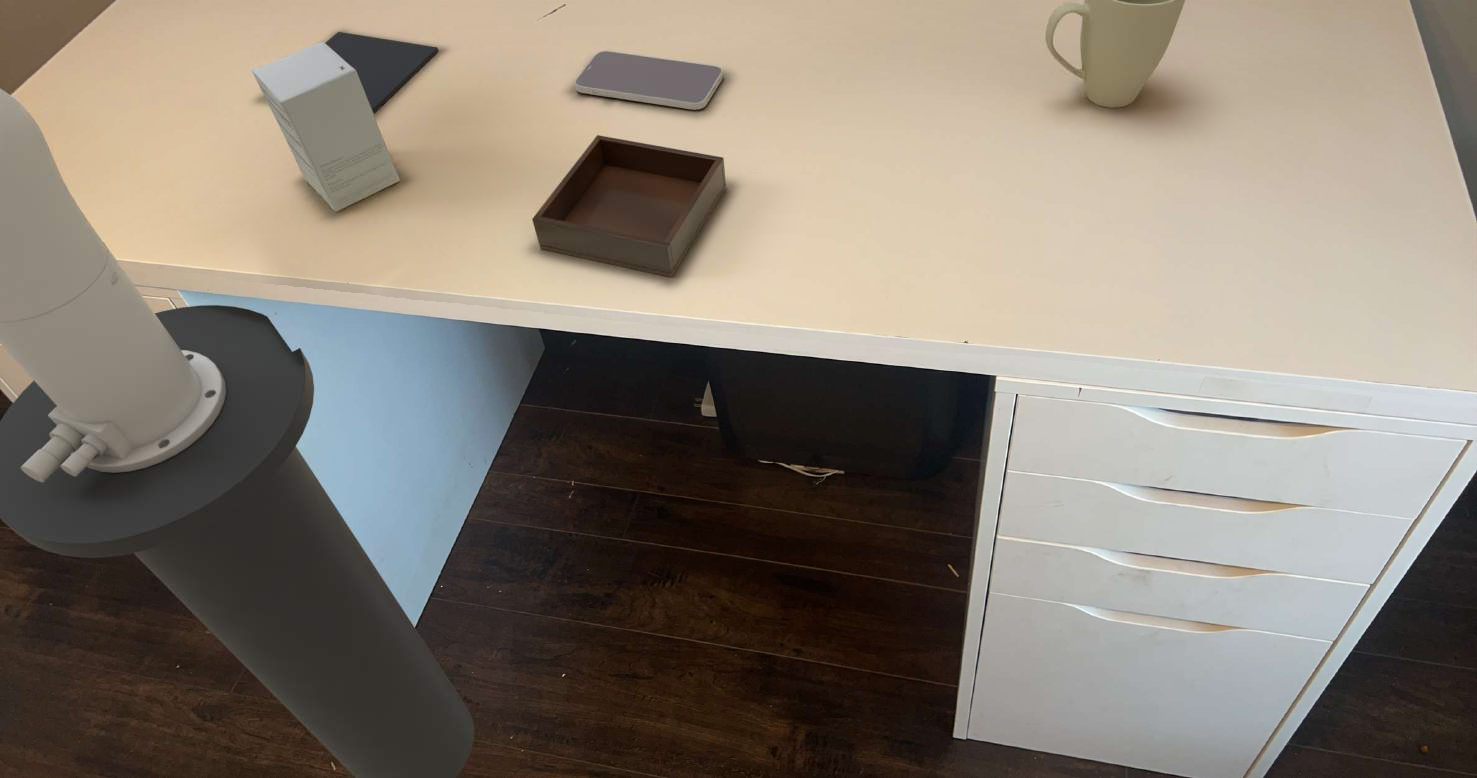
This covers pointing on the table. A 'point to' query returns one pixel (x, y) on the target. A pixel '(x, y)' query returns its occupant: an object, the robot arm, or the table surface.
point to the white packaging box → (328, 124)
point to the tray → (631, 205)
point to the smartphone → (649, 79)
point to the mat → (380, 63)
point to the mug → (1118, 45)
